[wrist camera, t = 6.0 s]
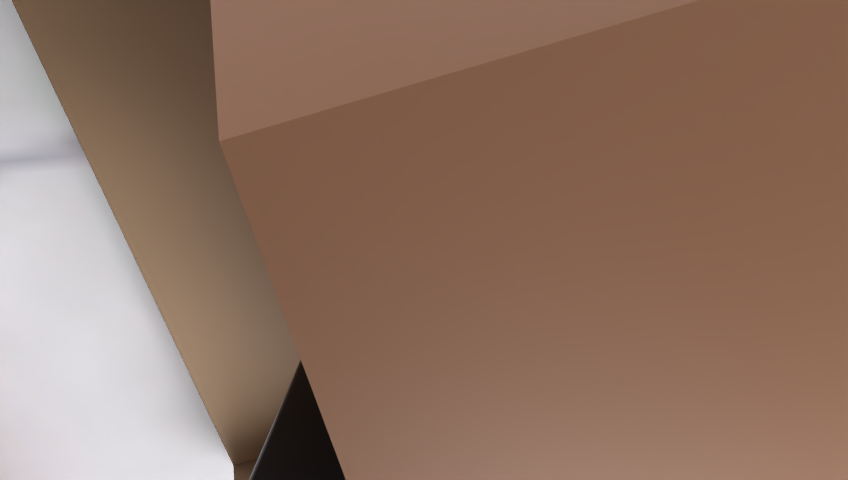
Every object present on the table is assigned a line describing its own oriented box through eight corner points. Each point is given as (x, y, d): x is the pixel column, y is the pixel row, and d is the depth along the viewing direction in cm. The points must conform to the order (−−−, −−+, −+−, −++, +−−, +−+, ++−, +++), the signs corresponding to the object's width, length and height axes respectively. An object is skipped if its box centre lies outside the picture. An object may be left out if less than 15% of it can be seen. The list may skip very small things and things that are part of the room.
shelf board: (247, 466, 16) (274, 857, 10) (8, -48, 11) (-288, 47, 4) (913, 227, 18) (1299, 412, 12) (984, -290, 13) (1739, -462, 7)
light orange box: (404, 541, 12) (567, 1069, 6) (207, -39, 7) (217, 140, 2) (628, 454, 12) (945, 877, 7) (569, -132, 8) (1286, -174, 3)
